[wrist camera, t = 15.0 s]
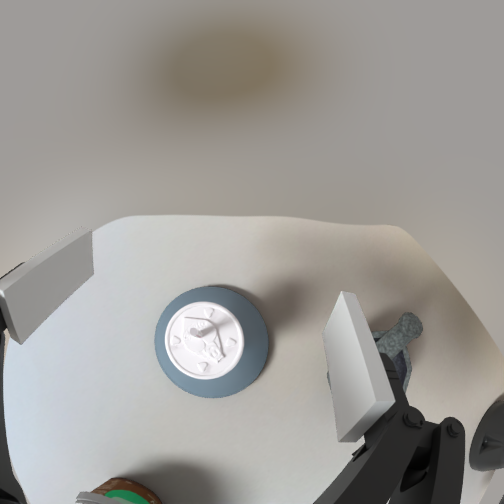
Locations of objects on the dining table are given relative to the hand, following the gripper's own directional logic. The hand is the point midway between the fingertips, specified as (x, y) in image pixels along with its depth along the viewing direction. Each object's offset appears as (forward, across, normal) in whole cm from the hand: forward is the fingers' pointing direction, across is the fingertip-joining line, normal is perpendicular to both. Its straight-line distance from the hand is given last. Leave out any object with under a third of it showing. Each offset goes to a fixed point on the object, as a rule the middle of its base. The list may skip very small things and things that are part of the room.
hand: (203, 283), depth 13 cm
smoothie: (+12, 0, -15) cm, 19 cm away
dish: (+12, 0, -16) cm, 20 cm away
